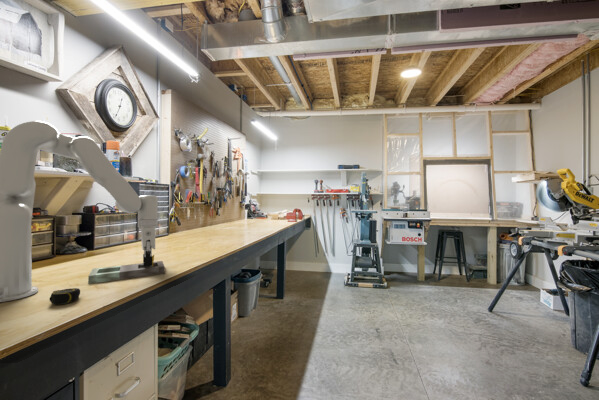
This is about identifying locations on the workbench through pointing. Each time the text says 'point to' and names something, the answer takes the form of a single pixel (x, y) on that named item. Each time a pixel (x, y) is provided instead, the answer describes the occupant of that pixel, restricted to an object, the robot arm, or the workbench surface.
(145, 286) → the workbench surface
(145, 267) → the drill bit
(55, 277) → the workbench surface
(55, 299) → the tape measure
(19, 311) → the workbench surface
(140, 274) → the block
